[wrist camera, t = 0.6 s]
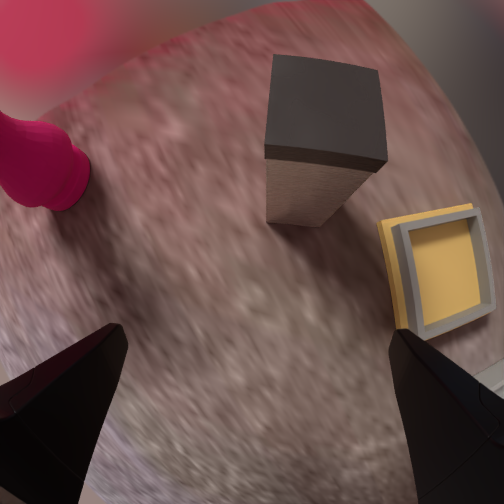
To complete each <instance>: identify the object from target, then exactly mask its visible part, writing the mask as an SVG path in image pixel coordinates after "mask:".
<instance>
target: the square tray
mask: <svg viewBox="0 0 504 504" xmlns="http://www.w3.org/2000/svg"><path fill="white" fill-rule="evenodd" d="M377 227H378V231H379V236H380V240H381V245H382V249H383V254H384V259H385V264H386V269H387V274H388V279H389V285H390V291H391V297H392V303H393V310H394V317H395V324H396V329H403V328H407V329H409V330H410V331H412V332H413V333H414V334H416V335H417V336H419V337H420V338H421V339H423V340H424V341H426V340H429V339H431V338H434V337H436V336H439V335H441V334H444V333H446V332H449V331H451V330H453V329H456V328H458V327H460V326H463V325H465V324H467V323H469V322H471V321H474V320H476V319H478V318H480V317H482V316H484V315H486V314H488V313H490V312H491V311H493V310H495V309H496V300H495V289H494V281H493V273H492V266H491V260H490V254H489V248H488V243H487V238H486V233H485V228H484V224H483V220H482V216H481V212H480V208H479V207H478V208H473V206H472V203H470V204H465V205H459V206H454V207H449V208H444V209H438V210H433V211H428V212H423V213H418V214H412V215H407V216H402V217H397V218H392V219H387V220H381V221H379V222H377Z"/></svg>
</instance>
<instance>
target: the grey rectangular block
mask: <svg viewBox="0 0 504 504" xmlns="http://www.w3.org/2000/svg"><path fill="white" fill-rule="evenodd" d="M264 146H265V159H266V222H269V223H280V224H290V225H300V226H309V227H318V228H319V227H320V226H321V225H322V224H323V223H324V222H325V221H326V220H327V219H328V218H329V217H330V216H331V215H332V214H333V213H334V212H335V211H336V210H337V209H338V208H339V207H340V206H341V205H342V204H343V203H344V202H345V201H346V200H347V199H348V198H349V197H350V196H351V195H352V194H353V193H354V192H355V191H356V190H357V189H358V188H359V187H360V186H361V185H362V184H363V183H364V182H365V181H366V180H367V179H368V178H369V177H370V176H371V175H372V174H373V173H377V172H378V171H379V170H380V169H381V168H382V167H383V166H384V164H385V163H386V162H387V161H388V155H387V141H386V130H385V119H384V111H383V102H382V95H381V88H380V81H379V75H378V70H374V69H370V68H365V67H361V66H356V65H351V64H346V63H340V62H334V61H328V60H322V59H315V58H307V57H298V56H289V55H277V54H273V63H272V73H271V83H270V94H269V104H268V114H267V124H266V134H265V144H264Z"/></svg>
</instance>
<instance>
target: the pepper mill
mask: <svg viewBox="0 0 504 504" xmlns="http://www.w3.org/2000/svg"><path fill="white" fill-rule="evenodd" d="M89 175H90V164H89V160H88V158H87V156H86V154H85V153H84V152H82V151H81V150H80V149H78V148H77V147H76V146H74V145H72V143H71V140H70V138H69V136H68V135H67V133H66V132H65V131H64V130H62V129H60V128H59V127H57V126H55V125H53V124H50V123H46V122H42V121H23V120H17V119H14V118H11V117H9V116H7V115H5V114H3V113H2V112H1V111H0V185H1V186H2V188H3V189H4V191H5V192H6V193H7V195H8V196H10V197H11V198H12V199H13V200H14V201H16V202H17V203H19V204H21V205H23V206H26V207H38V206H41V205H42V206H43V207H46V208H49V209H51V210H54V211H62V210H66V209H68V208H70V207H71V206H72V205H73V204H75V203H76V202H77V201H78V200H79V198H80V197H81V196H82V194H83V192H84V191H85V189H86V186H87V183H88V180H89Z"/></svg>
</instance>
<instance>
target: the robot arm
mask: <svg viewBox="0 0 504 504" xmlns="http://www.w3.org/2000/svg"><path fill="white" fill-rule="evenodd" d="M127 350H128V341H127V338H126V335H125V332H124V330H123V327H122V325H121V324H117V323H109V324H107V325H106V326H104V327H102V328H100V329H99V330H97V331H95V332H94V333H92V334H90V335H88V336H87V337H85V338H83V339H82V340H80V341H78V342H77V343H75V344H73V345H71V346H70V347H68V348H66V349H65V350H63V351H61V352H59V353H58V354H56V355H54V356H53V357H51V358H49V359H48V360H46V361H44V362H43V363H41V364H39V365H37V366H36V367H35V368H32V369H31V370H29V371H27V372H26V373H24V374H22V375H20V376H19V377H17V378H15V379H13V380H11V381H9V382H7V383H5V384H3V385H1V386H0V504H78V502H79V498H80V495H81V491H82V488H83V485H84V481H85V477H86V474H87V471H88V467H89V464H90V461H91V458H92V455H93V452H94V449H95V446H96V443H97V440H98V437H99V434H100V431H101V428H102V426H103V423H104V420H105V417H106V415H107V412H108V409H109V406H110V404H111V401H112V398H113V396H114V393H115V391H116V388H117V385H118V382H119V379H120V375H121V371H122V368H123V364H124V361H125V357H126V354H127ZM389 359H390V365H391V371H392V377H393V383H394V389H395V394H396V399H397V402H398V406H399V410H400V414H401V418H402V422H403V426H404V430H405V435H406V439H407V443H408V448H409V453H410V458H411V463H412V468H413V473H414V479H415V484H416V490H417V497H418V504H504V399H503V398H501V397H500V396H498V395H497V394H495V393H494V392H493V391H491V390H490V389H489V388H487V387H486V386H485V385H483V384H482V383H481V382H480V383H479V381H478V380H477V379H475V378H474V377H473V376H471V375H470V374H469V373H467V372H466V371H465V370H463V369H462V368H461V367H459V366H458V365H457V364H455V363H454V362H453V361H451V360H450V359H449V358H447V357H446V356H445V355H443V354H442V353H441V352H439V351H438V350H436V349H435V348H434V347H432V346H431V345H430V344H428V343H427V342H425V341H424V340H423V339H421V338H420V337H419V336H417V335H416V334H414V333H413V332H412V331H410V330H409V329H407V328H403V329H396V330H395V331H394V334H393V337H392V340H391V343H390V346H389Z"/></svg>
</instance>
